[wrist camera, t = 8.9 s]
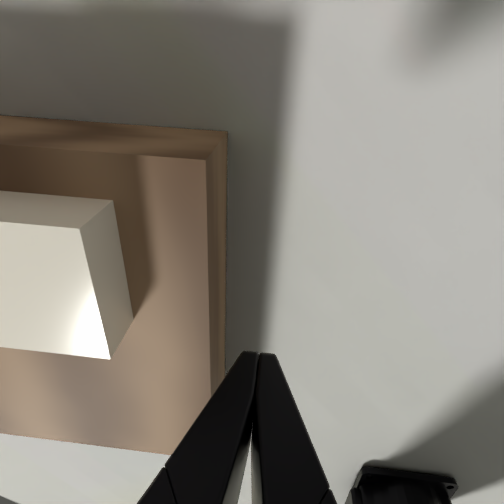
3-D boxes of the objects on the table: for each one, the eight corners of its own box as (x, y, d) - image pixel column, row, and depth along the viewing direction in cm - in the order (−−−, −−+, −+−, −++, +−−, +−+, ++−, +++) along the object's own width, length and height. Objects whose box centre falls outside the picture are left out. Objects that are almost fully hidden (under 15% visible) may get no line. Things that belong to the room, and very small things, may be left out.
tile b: (113, 200, 11) (79, 228, 9) (133, 319, 13) (110, 359, 12) (-37, 187, 11) (-98, 212, 9) (11, 306, 14) (-29, 343, 12)
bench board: (227, 131, 13) (205, 159, 10) (224, 394, 21) (212, 460, 18) (-64, 110, 14) (-179, 130, 10) (42, 373, 22) (-4, 432, 19)
